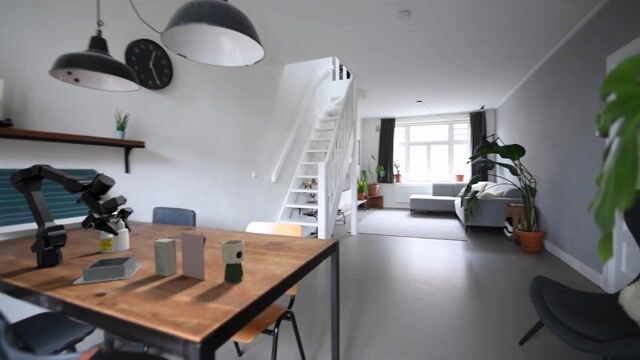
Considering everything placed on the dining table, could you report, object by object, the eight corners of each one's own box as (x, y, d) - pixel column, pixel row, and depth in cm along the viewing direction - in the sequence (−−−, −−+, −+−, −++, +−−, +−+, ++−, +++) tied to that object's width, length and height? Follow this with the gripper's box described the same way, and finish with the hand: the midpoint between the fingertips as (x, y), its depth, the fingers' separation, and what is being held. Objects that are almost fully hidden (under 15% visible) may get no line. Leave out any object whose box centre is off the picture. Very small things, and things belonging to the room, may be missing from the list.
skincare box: (177, 273, 103) (176, 239, 102) (166, 277, 99) (165, 242, 98) (165, 270, 105) (164, 237, 105) (154, 274, 102) (153, 240, 101)
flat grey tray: (72, 284, 93) (72, 272, 93) (94, 268, 108) (94, 258, 108) (129, 278, 98) (129, 266, 98) (142, 264, 113) (142, 253, 113)
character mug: (236, 287, 89) (236, 246, 89) (215, 286, 90) (214, 246, 90) (250, 275, 100) (249, 238, 99) (231, 274, 101) (230, 237, 100)
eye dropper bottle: (132, 249, 109) (131, 218, 109) (115, 253, 105) (114, 220, 104) (127, 247, 112) (126, 217, 111) (110, 251, 107) (109, 219, 107)
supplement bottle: (113, 249, 136) (112, 229, 136) (115, 251, 132) (114, 230, 132) (99, 251, 132) (98, 230, 132) (101, 253, 128) (100, 232, 128)
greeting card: (207, 279, 96) (206, 235, 96) (182, 283, 93) (181, 238, 92) (204, 269, 106) (203, 229, 106) (182, 272, 103) (181, 231, 103)
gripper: (87, 190, 98) (118, 223, 98) (128, 187, 117) (154, 214, 116) (67, 213, 99) (97, 245, 99) (111, 206, 118) (137, 233, 117)
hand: (124, 233), depth 108 cm, fingers closed on eye dropper bottle, 5 cm apart
